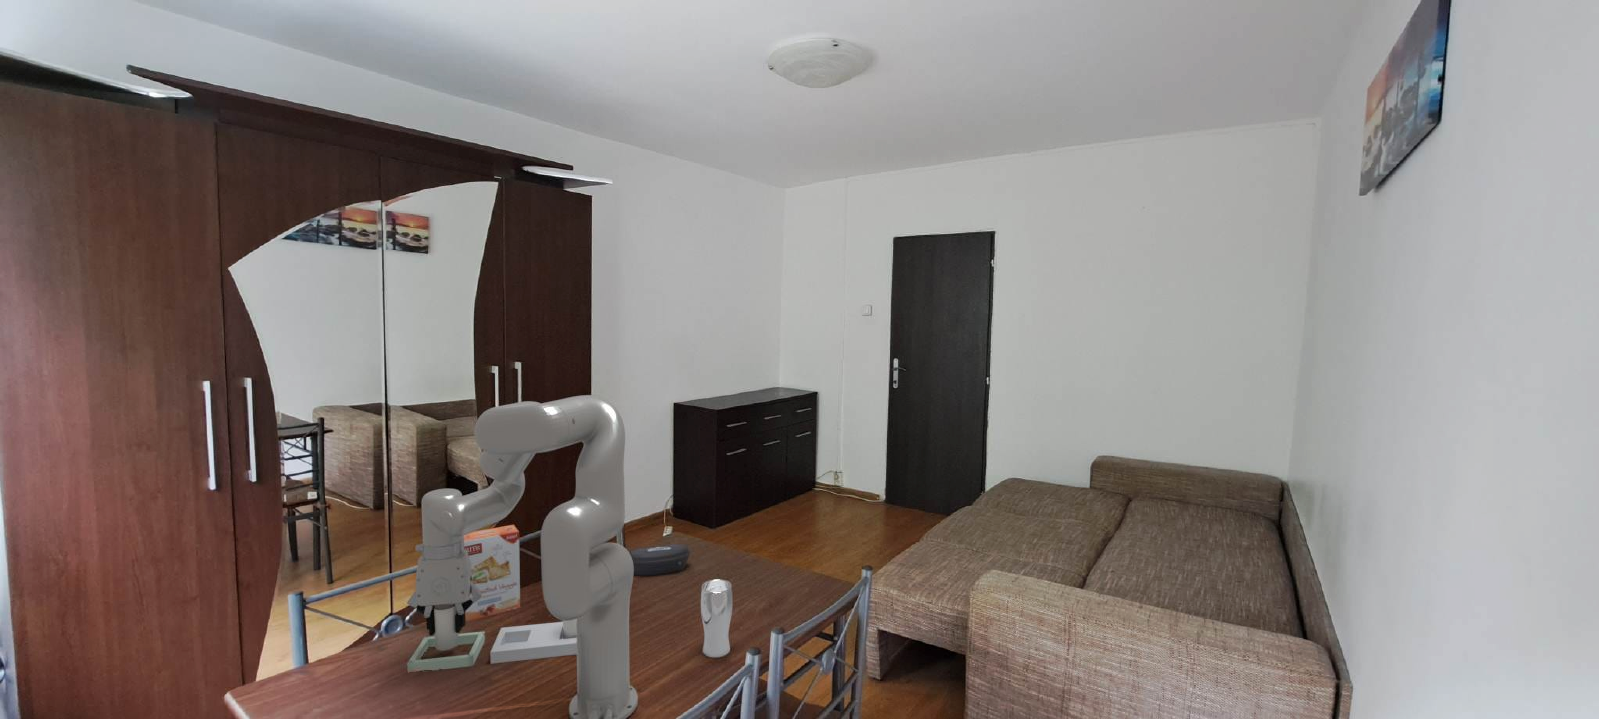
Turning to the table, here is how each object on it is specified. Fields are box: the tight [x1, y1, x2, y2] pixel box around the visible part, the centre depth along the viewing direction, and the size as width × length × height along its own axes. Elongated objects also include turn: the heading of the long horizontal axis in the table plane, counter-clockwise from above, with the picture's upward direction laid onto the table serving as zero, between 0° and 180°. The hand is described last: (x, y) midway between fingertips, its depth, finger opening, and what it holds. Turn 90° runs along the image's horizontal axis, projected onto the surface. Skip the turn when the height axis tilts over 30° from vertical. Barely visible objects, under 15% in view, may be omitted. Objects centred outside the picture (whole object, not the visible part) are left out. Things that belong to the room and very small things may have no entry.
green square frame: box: [406, 631, 486, 671], centre depth 134 cm, size 10×12×3 cm
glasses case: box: [629, 543, 691, 577], centre depth 180 cm, size 18×10×8 cm, turn 110°
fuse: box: [562, 619, 577, 639], centre depth 139 cm, size 5×5×11 cm
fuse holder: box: [489, 621, 577, 665], centre depth 138 cm, size 10×20×4 cm, turn 104°
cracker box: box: [464, 524, 521, 623], centre depth 152 cm, size 14×6×21 cm, turn 126°
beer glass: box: [700, 578, 733, 659], centre depth 139 cm, size 7×7×15 cm
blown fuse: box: [433, 604, 460, 651], centre depth 133 cm, size 5×5×11 cm
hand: (446, 630), depth 133 cm, fingers closed on blown fuse, 4 cm apart
